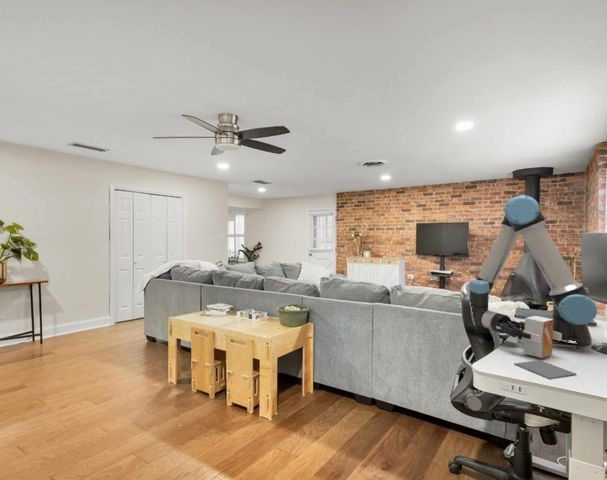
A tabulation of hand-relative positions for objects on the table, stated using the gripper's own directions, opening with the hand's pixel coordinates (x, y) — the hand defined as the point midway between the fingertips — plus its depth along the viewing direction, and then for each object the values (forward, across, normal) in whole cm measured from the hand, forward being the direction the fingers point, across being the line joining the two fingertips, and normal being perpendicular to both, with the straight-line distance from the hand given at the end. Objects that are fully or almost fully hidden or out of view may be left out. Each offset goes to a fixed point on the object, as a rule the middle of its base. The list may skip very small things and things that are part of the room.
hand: (550, 338), depth 123 cm
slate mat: (+6, +10, -8) cm, 14 cm away
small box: (-4, 0, -7) cm, 9 cm away
